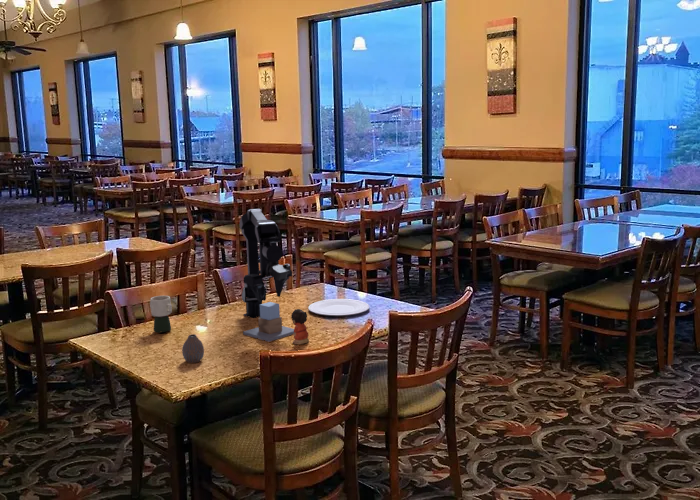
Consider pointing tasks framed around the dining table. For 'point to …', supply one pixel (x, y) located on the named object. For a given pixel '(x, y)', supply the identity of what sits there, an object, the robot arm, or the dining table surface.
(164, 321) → the character mug
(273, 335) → the build plate
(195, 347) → the vase
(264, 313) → the blue brick
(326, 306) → the plate
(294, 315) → the figurine
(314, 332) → the dining table surface
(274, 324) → the walnut brick
